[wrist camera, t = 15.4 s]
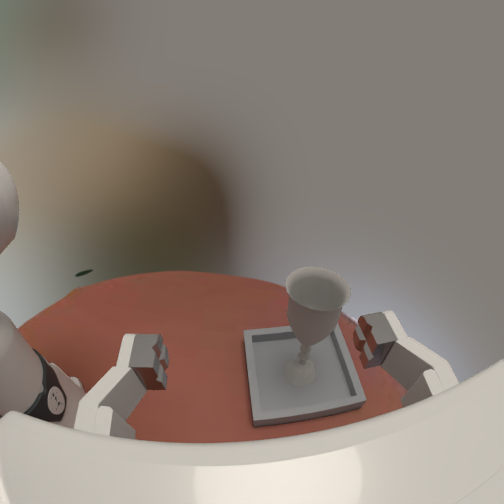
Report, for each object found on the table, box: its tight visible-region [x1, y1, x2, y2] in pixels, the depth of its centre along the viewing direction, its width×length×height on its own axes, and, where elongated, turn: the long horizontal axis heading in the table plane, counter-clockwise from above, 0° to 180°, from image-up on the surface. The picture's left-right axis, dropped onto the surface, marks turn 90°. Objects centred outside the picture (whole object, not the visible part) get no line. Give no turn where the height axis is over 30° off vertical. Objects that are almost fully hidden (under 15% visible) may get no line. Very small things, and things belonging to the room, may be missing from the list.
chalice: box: [283, 267, 351, 386], centre depth 34 cm, size 7×7×18 cm
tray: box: [244, 323, 366, 427], centre depth 39 cm, size 16×16×3 cm
